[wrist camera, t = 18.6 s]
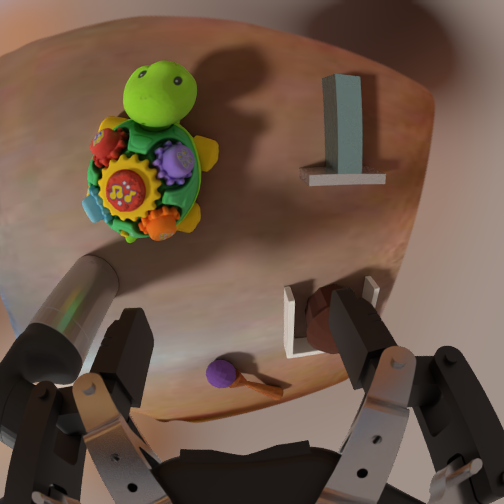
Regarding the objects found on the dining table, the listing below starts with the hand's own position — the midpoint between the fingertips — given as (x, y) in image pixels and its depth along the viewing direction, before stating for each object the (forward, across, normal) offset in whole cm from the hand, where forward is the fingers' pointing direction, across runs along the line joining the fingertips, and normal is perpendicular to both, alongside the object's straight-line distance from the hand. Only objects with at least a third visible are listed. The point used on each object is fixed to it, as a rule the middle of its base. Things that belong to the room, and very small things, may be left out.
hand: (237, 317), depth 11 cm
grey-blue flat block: (+28, -15, -5) cm, 32 cm away
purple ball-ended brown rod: (+29, +1, +43) cm, 51 cm away
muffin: (+28, -15, +24) cm, 40 cm away
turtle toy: (+28, +10, -4) cm, 30 cm away
